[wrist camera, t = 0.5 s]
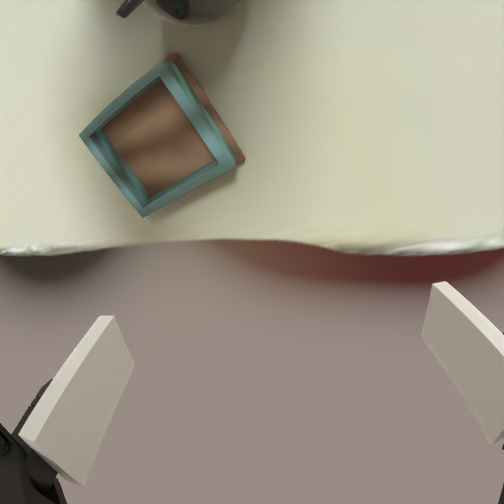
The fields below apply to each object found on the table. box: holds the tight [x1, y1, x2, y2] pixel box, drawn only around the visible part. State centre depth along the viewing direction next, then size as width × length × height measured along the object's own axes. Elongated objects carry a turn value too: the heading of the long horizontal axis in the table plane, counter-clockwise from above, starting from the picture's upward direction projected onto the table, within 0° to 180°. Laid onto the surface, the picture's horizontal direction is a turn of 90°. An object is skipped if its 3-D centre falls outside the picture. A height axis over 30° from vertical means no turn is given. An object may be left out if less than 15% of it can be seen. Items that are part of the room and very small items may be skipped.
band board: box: [79, 53, 245, 218], centre depth 31 cm, size 16×16×4 cm
